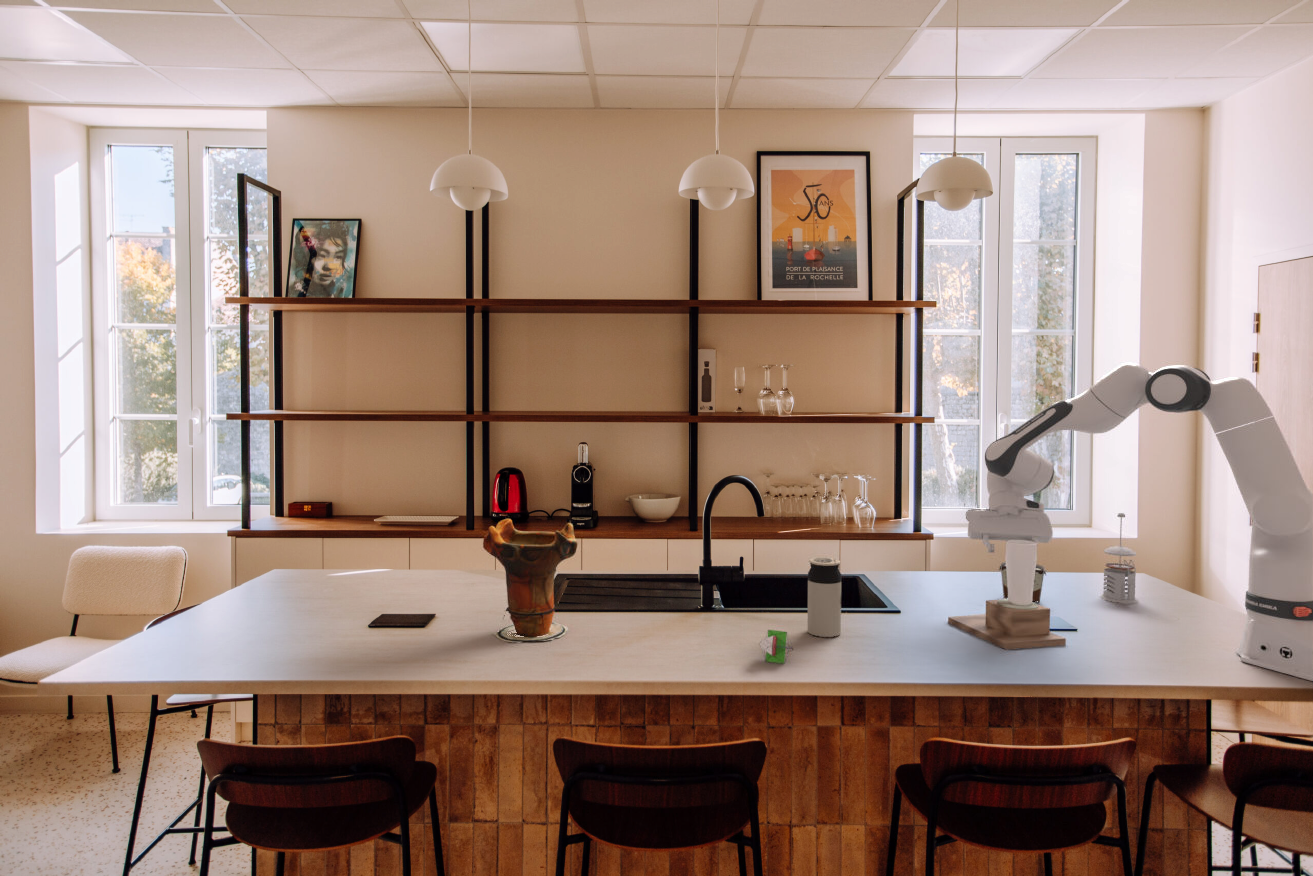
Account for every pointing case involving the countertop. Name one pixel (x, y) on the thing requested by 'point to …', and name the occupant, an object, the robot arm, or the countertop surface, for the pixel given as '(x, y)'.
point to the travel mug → (824, 597)
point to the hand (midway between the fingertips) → (1011, 552)
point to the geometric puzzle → (775, 646)
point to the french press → (1119, 575)
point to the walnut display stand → (1011, 625)
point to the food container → (1037, 581)
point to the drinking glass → (1020, 570)
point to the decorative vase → (530, 577)
